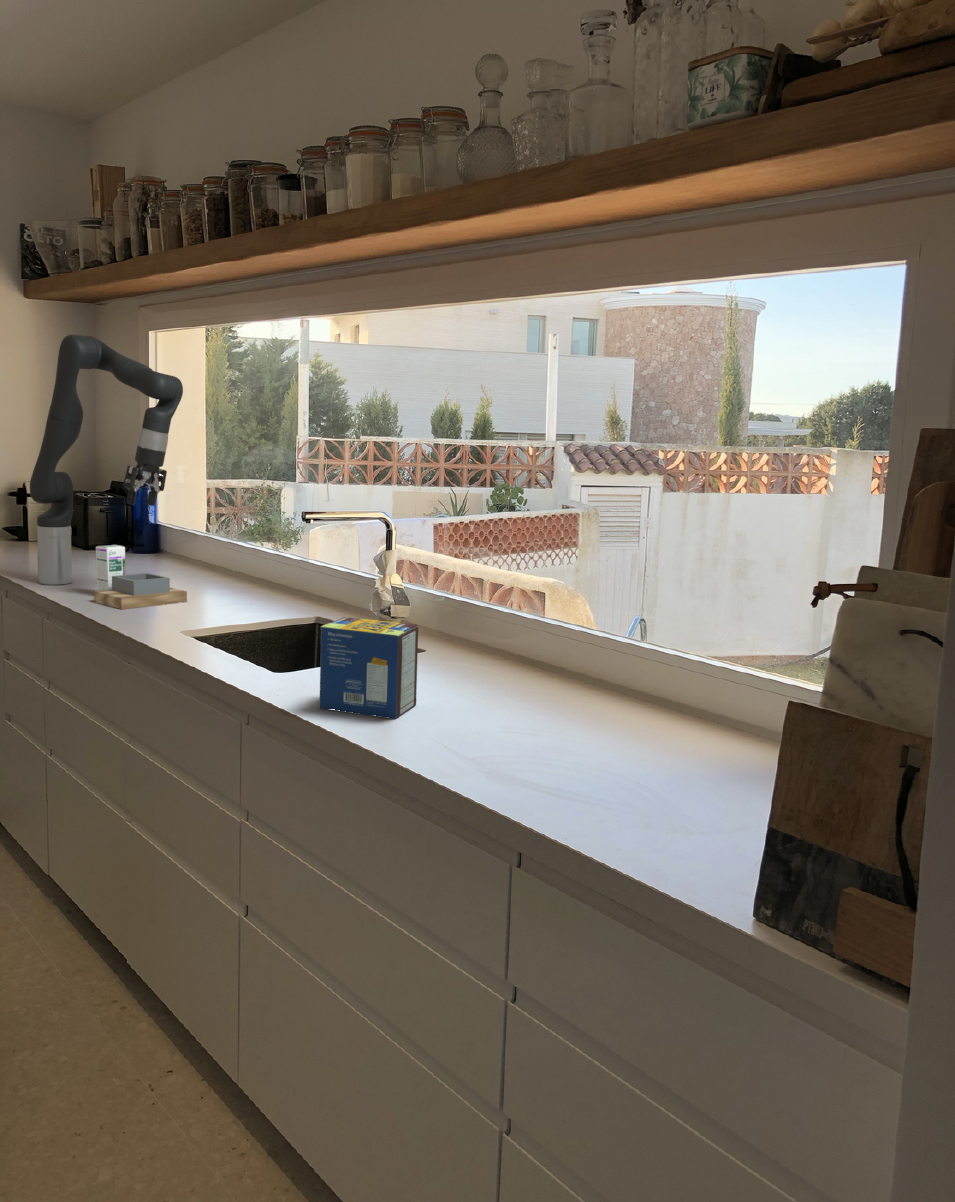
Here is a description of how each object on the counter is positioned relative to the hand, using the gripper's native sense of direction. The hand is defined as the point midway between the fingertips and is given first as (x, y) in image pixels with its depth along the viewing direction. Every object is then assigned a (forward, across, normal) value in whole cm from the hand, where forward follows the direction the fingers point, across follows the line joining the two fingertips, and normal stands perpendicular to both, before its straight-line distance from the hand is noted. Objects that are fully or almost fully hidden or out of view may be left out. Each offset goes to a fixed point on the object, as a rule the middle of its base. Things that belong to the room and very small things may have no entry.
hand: (140, 504), depth 275 cm
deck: (+26, 0, +6) cm, 27 cm away
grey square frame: (+23, 0, +5) cm, 24 cm away
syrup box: (+28, -3, -6) cm, 29 cm away
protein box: (+13, +63, +106) cm, 124 cm away
